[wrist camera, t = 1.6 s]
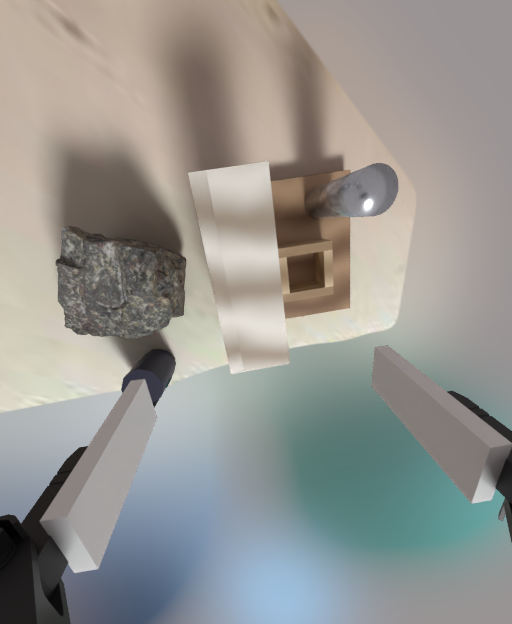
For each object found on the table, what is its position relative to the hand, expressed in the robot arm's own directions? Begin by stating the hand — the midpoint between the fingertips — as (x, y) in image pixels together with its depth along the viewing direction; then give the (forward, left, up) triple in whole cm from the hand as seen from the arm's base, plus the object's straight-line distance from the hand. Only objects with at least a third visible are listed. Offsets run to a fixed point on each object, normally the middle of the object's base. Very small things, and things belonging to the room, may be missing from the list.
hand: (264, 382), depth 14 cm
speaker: (+12, -18, -26) cm, 34 cm away
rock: (-3, -16, -26) cm, 31 cm away
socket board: (-3, +6, -26) cm, 27 cm away
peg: (-10, +12, -24) cm, 28 cm away
